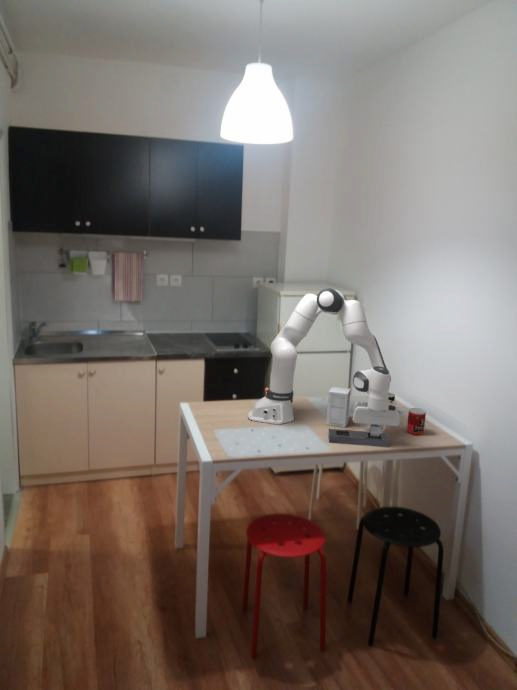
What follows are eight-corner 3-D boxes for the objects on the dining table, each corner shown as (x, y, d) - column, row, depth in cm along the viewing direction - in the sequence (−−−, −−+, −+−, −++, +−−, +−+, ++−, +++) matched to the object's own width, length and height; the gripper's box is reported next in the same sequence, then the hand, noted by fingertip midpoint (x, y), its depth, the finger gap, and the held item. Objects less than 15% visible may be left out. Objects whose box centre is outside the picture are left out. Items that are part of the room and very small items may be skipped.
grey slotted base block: (328, 442, 253) (329, 436, 252) (328, 434, 261) (328, 428, 261) (388, 447, 251) (389, 440, 250) (385, 439, 260) (386, 433, 259)
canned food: (414, 436, 265) (417, 414, 262) (402, 430, 271) (405, 408, 269) (427, 434, 268) (429, 412, 266) (415, 428, 275) (417, 406, 272)
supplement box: (348, 421, 280) (351, 388, 276) (345, 427, 271) (348, 393, 268) (329, 418, 283) (332, 385, 279) (325, 424, 274) (328, 391, 270)
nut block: (369, 439, 253) (371, 425, 252) (368, 435, 257) (370, 422, 256) (379, 439, 253) (380, 426, 252) (377, 436, 257) (379, 422, 256)
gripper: (354, 404, 249) (351, 434, 252) (401, 407, 248) (398, 437, 251) (353, 399, 255) (350, 428, 259) (399, 403, 254) (396, 432, 257)
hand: (374, 433), depth 255 cm, fingers closed on nut block, 4 cm apart
